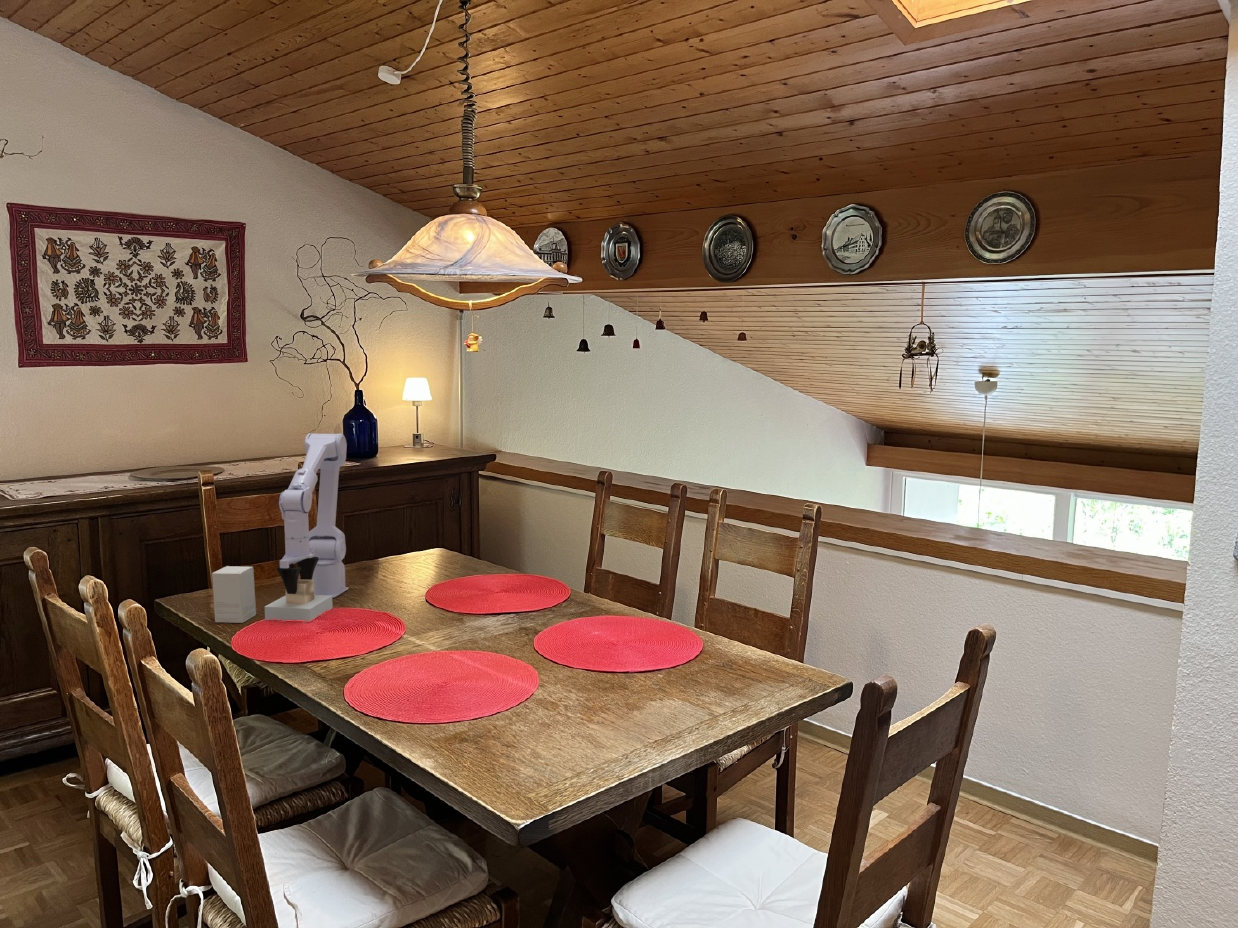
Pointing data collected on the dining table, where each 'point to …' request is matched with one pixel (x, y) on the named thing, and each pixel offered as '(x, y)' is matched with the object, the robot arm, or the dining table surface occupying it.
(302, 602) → the birch cube
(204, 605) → the dining table surface
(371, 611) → the dining table surface
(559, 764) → the dining table surface
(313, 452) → the robot arm
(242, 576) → the supplement box
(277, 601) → the grey block
